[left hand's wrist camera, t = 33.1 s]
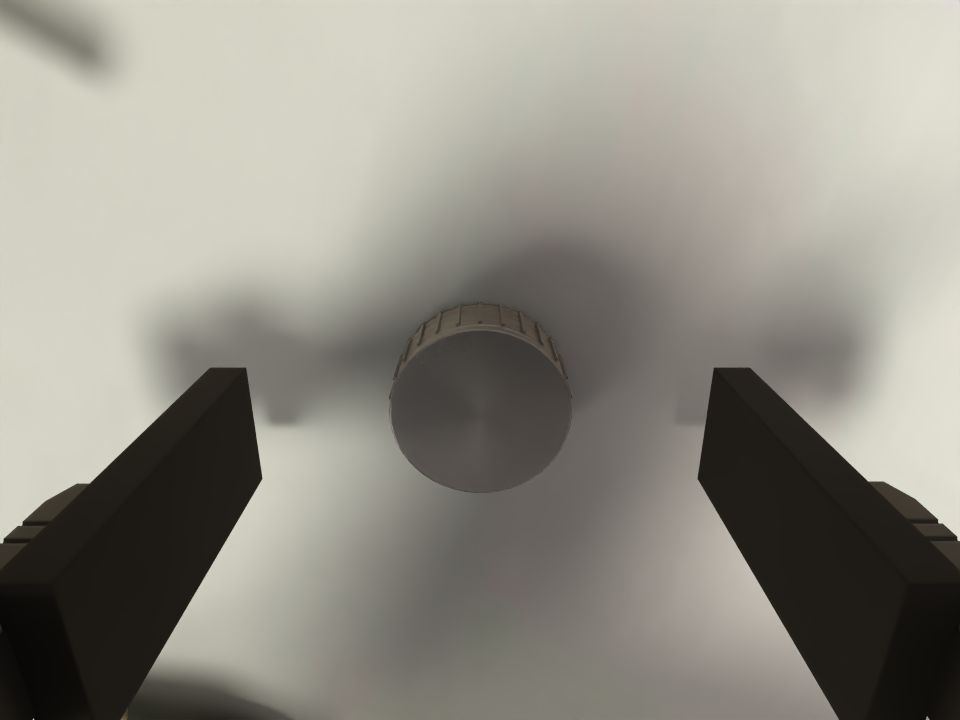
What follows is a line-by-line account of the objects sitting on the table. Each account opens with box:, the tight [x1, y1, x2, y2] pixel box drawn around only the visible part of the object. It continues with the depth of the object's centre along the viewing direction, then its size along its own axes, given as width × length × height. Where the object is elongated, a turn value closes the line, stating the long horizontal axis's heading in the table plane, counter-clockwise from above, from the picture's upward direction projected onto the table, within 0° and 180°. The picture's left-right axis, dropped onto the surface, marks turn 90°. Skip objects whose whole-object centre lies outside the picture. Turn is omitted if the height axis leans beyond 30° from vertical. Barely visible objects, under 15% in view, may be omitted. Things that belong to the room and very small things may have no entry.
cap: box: [389, 302, 572, 493], centre depth 15 cm, size 4×4×2 cm
